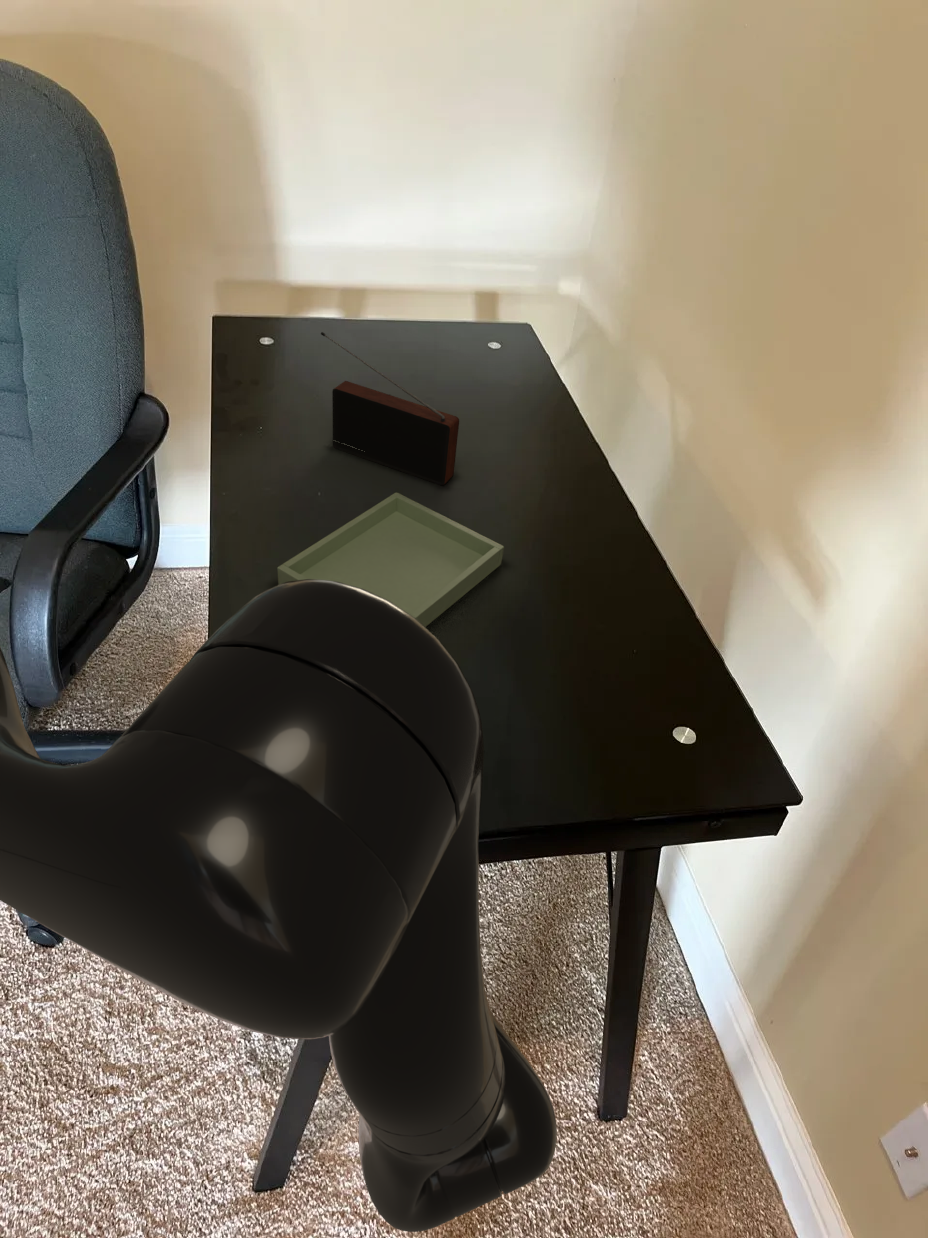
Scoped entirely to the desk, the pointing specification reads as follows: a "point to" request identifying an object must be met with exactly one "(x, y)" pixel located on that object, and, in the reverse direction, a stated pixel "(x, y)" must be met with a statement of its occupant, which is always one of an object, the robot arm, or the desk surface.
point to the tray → (401, 557)
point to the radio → (394, 430)
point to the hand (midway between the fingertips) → (320, 697)
